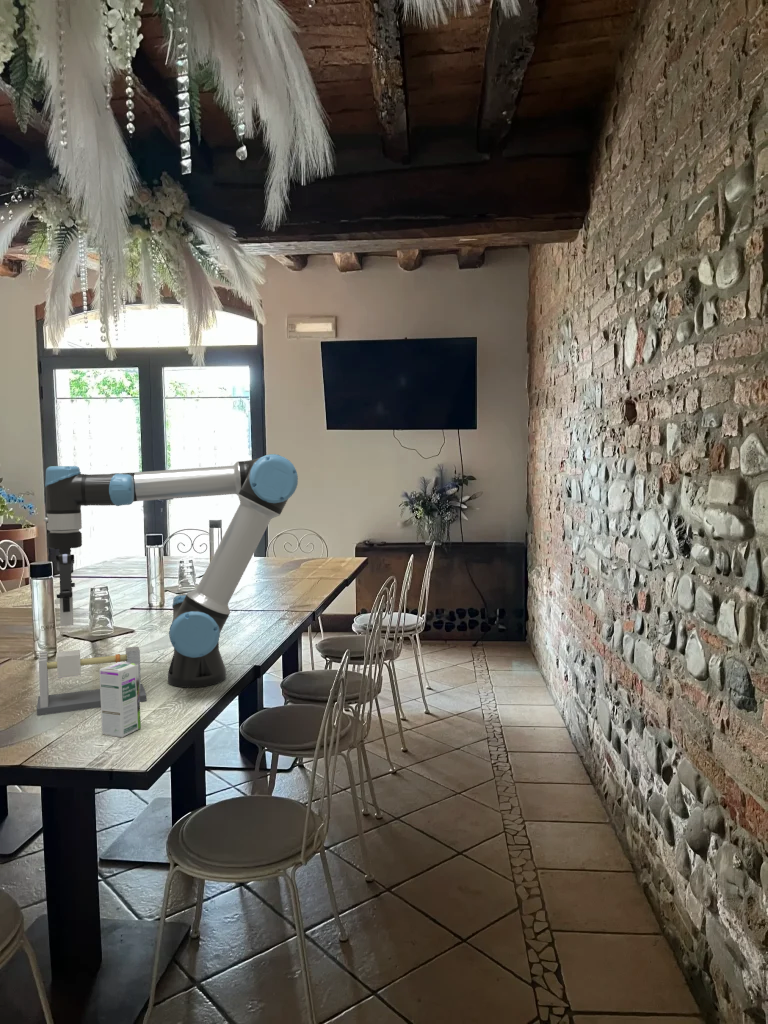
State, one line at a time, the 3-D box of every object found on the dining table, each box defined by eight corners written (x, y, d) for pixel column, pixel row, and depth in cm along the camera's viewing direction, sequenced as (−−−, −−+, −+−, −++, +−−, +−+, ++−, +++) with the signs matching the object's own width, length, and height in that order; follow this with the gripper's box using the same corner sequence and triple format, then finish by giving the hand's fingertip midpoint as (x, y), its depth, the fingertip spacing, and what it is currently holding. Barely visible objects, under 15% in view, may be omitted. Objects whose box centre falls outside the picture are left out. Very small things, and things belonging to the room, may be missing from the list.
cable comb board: (142, 689, 182) (141, 641, 181) (146, 701, 173) (145, 650, 172) (38, 702, 172) (36, 651, 171) (37, 715, 163) (35, 661, 162)
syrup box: (122, 738, 149) (120, 670, 148) (100, 734, 151) (98, 667, 150) (141, 728, 154) (139, 663, 154) (119, 725, 157) (118, 660, 156)
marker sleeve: (80, 669, 173) (79, 649, 173) (80, 675, 169) (80, 654, 168) (57, 672, 171) (57, 652, 171) (57, 678, 167) (56, 657, 166)
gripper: (48, 527, 178) (50, 611, 179) (45, 536, 155) (48, 632, 156) (80, 526, 181) (83, 608, 182) (82, 534, 158) (85, 629, 159)
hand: (67, 619), depth 169 cm, fingers open, 13 cm apart
